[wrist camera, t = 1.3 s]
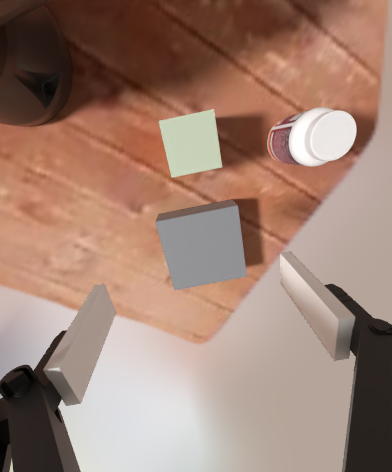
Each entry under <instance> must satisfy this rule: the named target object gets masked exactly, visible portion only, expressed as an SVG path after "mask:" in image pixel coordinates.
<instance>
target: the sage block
mask: <svg viewBox="0 0 392 472" xmlns="http://www.w3.org/2000/svg"><path fill="white" fill-rule="evenodd" d="M159 124H160V129H161V133H162V138H163V142H164V146H165V151H166V155H167V159H168V164H169V168H170V173H171V177H177V176H182V175H187V174H192V173H196V172H201V171H206V170H211V169H216V168H221V167H222V162H221V155H220V148H219V141H218V134H217V127H216V120H215V113H214V109H213V110H208V111H203V112H199V113H194V114H189V115H185V116H180V117H175V118H171V119H166V120H161V121H159Z"/></svg>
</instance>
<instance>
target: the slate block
mask: <svg viewBox="0 0 392 472" xmlns="http://www.w3.org/2000/svg"><path fill="white" fill-rule="evenodd" d="M156 226H157V229H158V233H159V236H160V240H161V244H162V247H163V251H164V255H165V258H166V262H167V265H168V269H169V273H170V276H171V280H172V284H173V287H174V290H179V289H184V288H189V287H195V286H200V285H205V284H210V283H216V282H221V281H226V280H231V279H236V278H242V277H247V274H246V266H245V258H244V250H243V242H242V234H241V226H240V218H239V210H238V205H237V204H236V203H235V202H234V201H233V200H232V199H231V200H226V201H221V202H217V203H212V204H207V205H202V206H197V207H192V208H187V209H182V210H177V211H172V212H167V213H162V214H158V217H157V219H156Z"/></svg>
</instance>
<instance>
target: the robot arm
mask: <svg viewBox="0 0 392 472" xmlns="http://www.w3.org/2000/svg"><path fill="white" fill-rule="evenodd" d="M51 1H53V0H0V123H2V124H7V125H14V126H23V127H28V126H36V125H40V124H42V123H45V122H47V121H49V120H50V119H52V118H53V117H54V116H55V115H57V114H58V112H59V111H60V110H61V109H62V107H63V106H64V104H65V102H66V100H67V98H68V95H69V92H70V88H71V82H72V65H71V58H70V53H69V49H68V46H67V43H66V40H65V38H64V36H63V33H62V31H61V29H60V27H59V25H58V24H57V22H56V20H55V19H54V17H53V16H52V14H51V13H50V12H49V10H48V9H47V8H46V7H45V6H44V5H45V4H47V3H49V2H51ZM280 266H281V267H280V269H281V285H282V286H283V288H284V289H285V291H286V292H287V294H288V295H289V297H290V298H291V299H292V301H293V302H294V304H295V305H296V306H297V308H298V309H299V311H300V312H301V314H302V315H303V317H304V318H305V320H306V321H307V323H308V324H309V325H310V327H311V328H312V330H313V331H314V333H315V334H316V335H317V337H318V338H319V340H320V341H321V343H322V344H323V346H324V347H325V349H326V350H327V351H328V353H329V354H330V356H331V357H332V359H333V360H334V361H336V360H342V359H347V358H349V355H350V350H351V351H352V353H353V354H354V355H355V356H356V361H355V367H354V378H353V387H352V394H351V402H350V411H349V419H348V427H347V435H346V443H345V452H344V460H343V468H342V472H392V325H391V324H389V323H388V322H386V321H383V320H380V319H375V318H373V317H372V316H371V315H370V314H368V313H367V312H366V311H365V310H364V309H363V308H362V307H361V306H360V305H359V304H358V303H356V302H355V301H354V300H353V299H352V298H351V297H350V296H348V294H347V293H346V292H344V291H343V290H342V289H341V288H340V287H338V286H336V285H334V284H328V285H323V284H322V283H321V282H320V281H319V280H318V279H317V278H316V277H315V276H314V275H313V274H312V273H311V272H310V271H309V270H308V269H307V268H306V267H305V266H304V264H303V263H302V262H301V261H299V259H298V258H297V257H296V256H294V254H293V253H292V252H291V251H290V252H283V253H280ZM115 314H116V311H115V309H114V306H113V304H112V301H111V299H110V296H109V294H108V291H107V289H106V286H105V284H101V285H95V286H94V287H93V289H92V291H91V292H90V294H89V296H88V297H87V299H86V300H85V302H84V304H83V305H82V307H81V309H80V310H79V312H78V314H77V315H76V317H75V319H74V320H73V322H72V323H71V325H70V327H69V328H68V330H66V331H62V332H61V333H60V334H59V335H58V336H57V337H56V338H55V339H54V340H53V342H52V344H51V345H50V347H49V348H48V349H47V351H46V354H44V356H43V357H42V359H41V360H40V362H39V363H38V365H37V366H36V368H35V369H34V371H33V370H32V368H31V367H30V366H29V365H22V366H19V367H17V368H15V369H13V370H12V371H10V372H9V373H7V374H6V376H4V377H3V378H2V380H1V381H0V394H1V395H2V396H3V398H1V399H0V472H9V470H10V465H11V459H12V462H13V471H14V472H80V469H79V466H78V463H77V460H76V457H75V454H74V451H73V447H72V445H71V442H70V438H69V436H68V432H67V430H66V427H65V424H64V420H63V417H62V415H61V412H60V410H59V408H58V405H59V403H60V401H61V399H62V400H63V401H64V403H65V405H66V406H68V405H75V404H80V403H81V402H82V399H83V396H84V394H85V391H86V388H87V386H88V384H89V381H90V378H91V376H92V373H93V371H94V368H95V366H96V363H97V360H98V358H99V355H100V353H101V350H102V347H103V345H104V342H105V340H106V337H107V335H108V332H109V329H110V327H111V324H112V321H113V319H114V317H115Z"/></svg>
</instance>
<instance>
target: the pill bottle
mask: <svg viewBox="0 0 392 472" xmlns="http://www.w3.org/2000/svg"><path fill="white" fill-rule="evenodd" d="M356 130H357V129H356V123H355V120H354V119H353V117H352V116H351V115H350V114H349V113H347V112H345V111H340V110H337V111H334V110H333V109H330V108H326V107H319V108H314V109H311V110H307V111H304V112H301V113H298V114H295V115H292V116H289V117H286V118H283V119H281V120H280V121H278V122H277V123H276V124H275V125H274V126H273V127H272V129H271V130H270V132H269V135H268V139H267V148H268V151H269V154H270V155H271V157H272V158H273V159H275V160H276V161H278V162H281V163H287V164H294V165H303V166H319V165H322V164H324V163H326V162H328V161H332V160H336V159H338V158H340V157H342V156H343V155H345V154H346V153H347V152H348V151H349V149H350V148H351V147H352V145H353V143H354V141H355V137H356Z"/></svg>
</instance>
